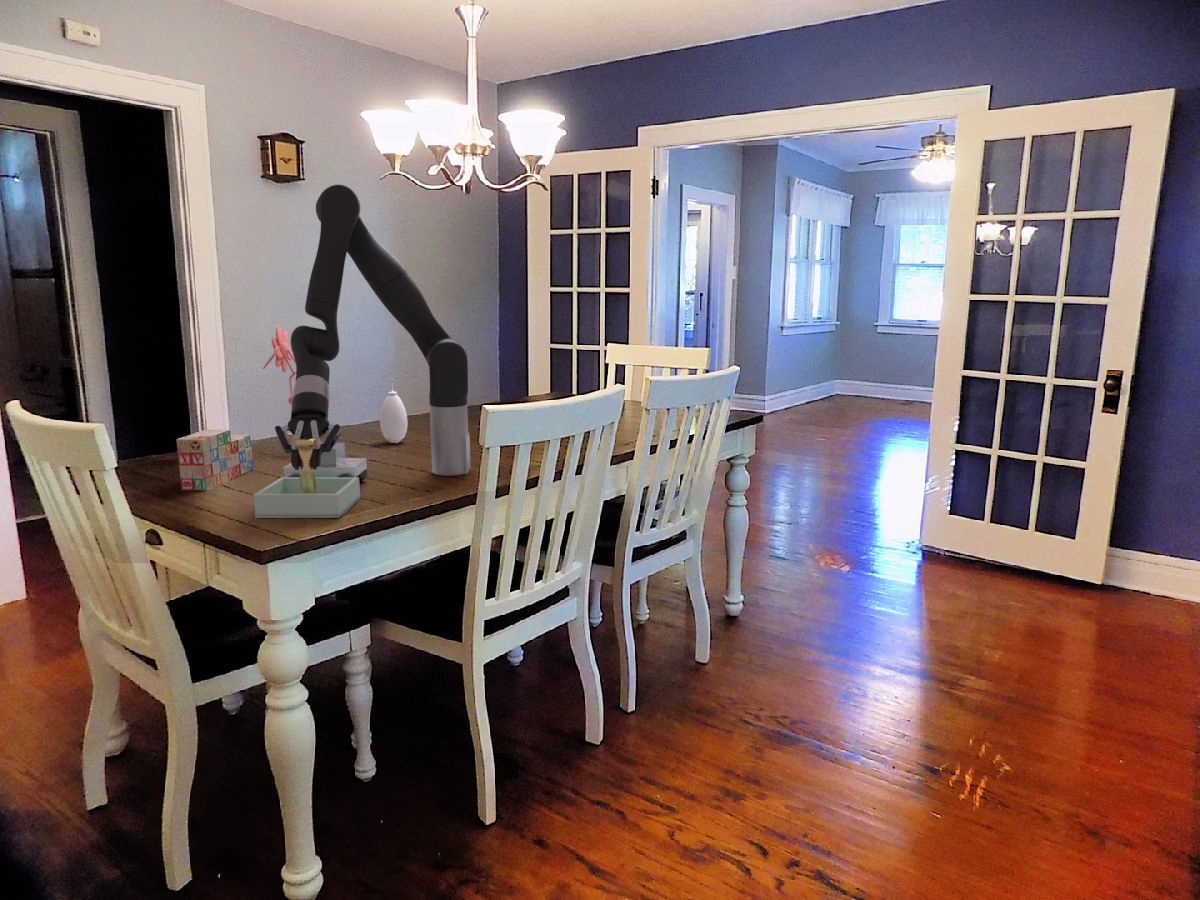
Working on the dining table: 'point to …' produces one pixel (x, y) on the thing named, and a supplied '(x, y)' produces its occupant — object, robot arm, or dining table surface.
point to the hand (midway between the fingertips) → (305, 467)
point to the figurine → (282, 357)
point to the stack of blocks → (212, 458)
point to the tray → (307, 498)
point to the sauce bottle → (393, 418)
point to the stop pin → (306, 464)
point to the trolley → (335, 465)
